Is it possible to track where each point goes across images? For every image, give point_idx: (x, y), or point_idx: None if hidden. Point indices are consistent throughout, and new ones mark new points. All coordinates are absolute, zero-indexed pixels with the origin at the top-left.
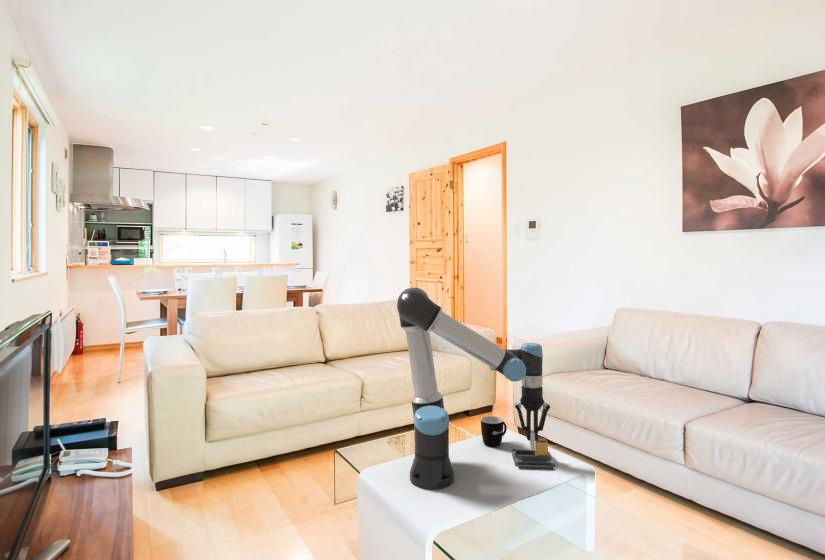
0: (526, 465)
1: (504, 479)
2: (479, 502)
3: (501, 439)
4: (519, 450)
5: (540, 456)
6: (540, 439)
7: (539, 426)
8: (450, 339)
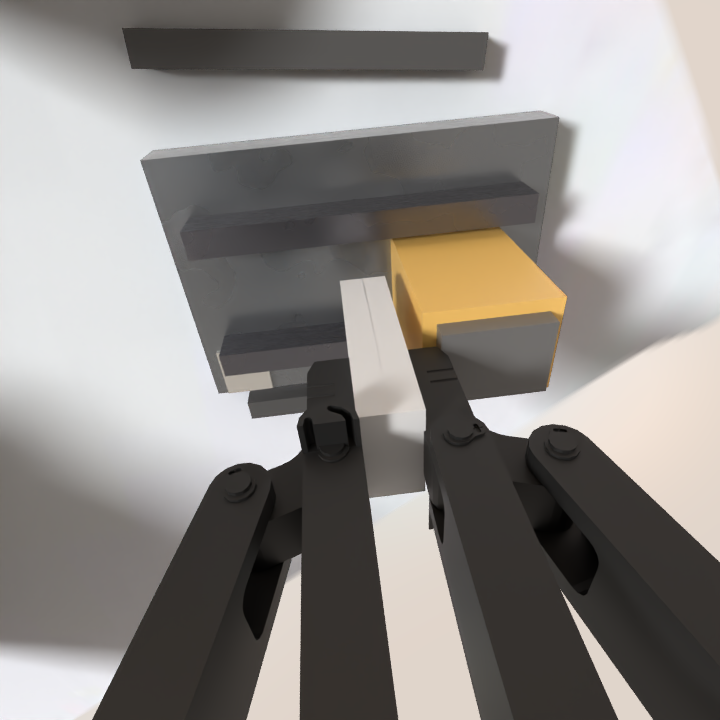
0: (305, 398)
1: (186, 518)
2: None
3: None
4: (229, 255)
5: None
6: (484, 363)
7: (544, 504)
8: None
